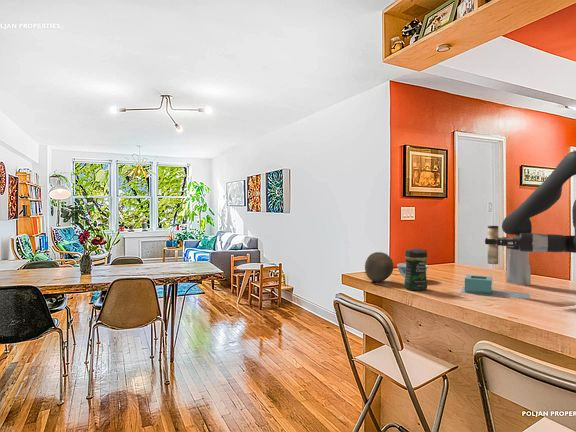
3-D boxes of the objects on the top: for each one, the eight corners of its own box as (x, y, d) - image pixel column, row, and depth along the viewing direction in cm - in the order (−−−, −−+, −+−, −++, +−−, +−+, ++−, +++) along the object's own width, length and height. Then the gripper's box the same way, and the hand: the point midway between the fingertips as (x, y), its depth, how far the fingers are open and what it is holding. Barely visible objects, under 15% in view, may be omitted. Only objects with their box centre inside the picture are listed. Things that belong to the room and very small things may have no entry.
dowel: (493, 262, 160) (493, 225, 160) (500, 264, 156) (500, 226, 156) (485, 263, 159) (485, 225, 159) (492, 264, 155) (492, 226, 155)
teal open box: (492, 290, 162) (492, 276, 162) (491, 294, 154) (491, 280, 154) (466, 287, 167) (466, 274, 167) (464, 292, 159) (464, 278, 159)
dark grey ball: (363, 283, 183) (363, 253, 183) (366, 278, 197) (366, 250, 197) (393, 285, 179) (393, 254, 179) (393, 280, 193) (393, 251, 192)
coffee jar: (411, 291, 166) (411, 250, 165) (401, 288, 173) (401, 248, 173) (430, 290, 168) (430, 249, 168) (420, 286, 176) (420, 247, 175)
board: (528, 295, 157) (528, 292, 157) (530, 302, 146) (530, 299, 146) (463, 289, 170) (463, 287, 170) (460, 295, 158) (460, 292, 158)
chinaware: (402, 276, 203) (402, 262, 203) (431, 279, 194) (431, 264, 194) (393, 280, 191) (393, 265, 191) (422, 283, 182) (422, 268, 182)
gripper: (532, 232, 156) (485, 231, 165) (534, 234, 144) (484, 233, 153) (531, 250, 157) (485, 248, 165) (534, 253, 144) (484, 251, 153)
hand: (485, 241), depth 159 cm, fingers closed on dowel, 4 cm apart
